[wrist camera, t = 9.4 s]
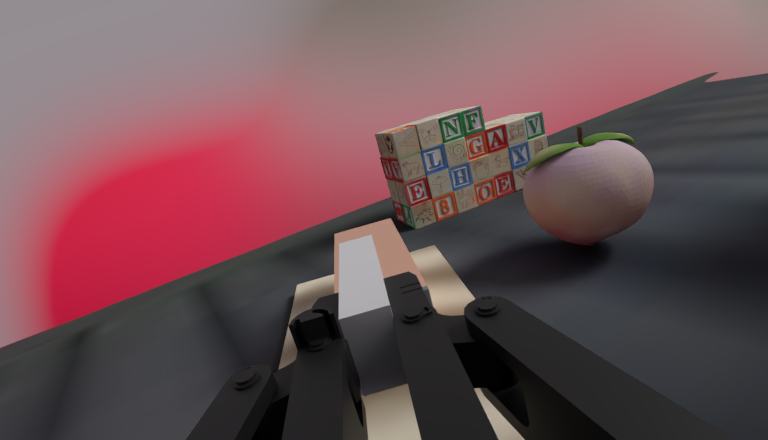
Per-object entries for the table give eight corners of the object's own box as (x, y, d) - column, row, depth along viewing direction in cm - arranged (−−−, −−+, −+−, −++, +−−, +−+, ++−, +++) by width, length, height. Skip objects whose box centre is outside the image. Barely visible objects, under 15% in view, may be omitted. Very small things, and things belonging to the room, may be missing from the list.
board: (589, 465, 15) (587, 446, 15) (245, 576, 15) (236, 558, 14) (436, 254, 38) (434, 245, 38) (300, 293, 38) (297, 284, 37)
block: (428, 289, 20) (390, 218, 33) (334, 316, 19) (334, 234, 33) (448, 368, 21) (404, 269, 34) (360, 395, 21) (350, 285, 34)
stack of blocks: (522, 175, 58) (509, 92, 55) (553, 178, 52) (541, 86, 49) (396, 220, 53) (373, 132, 49) (415, 230, 47) (390, 131, 43)
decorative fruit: (590, 284, 27) (575, 144, 24) (516, 251, 34) (497, 142, 31) (687, 240, 29) (684, 106, 26) (597, 218, 37) (587, 113, 34)
